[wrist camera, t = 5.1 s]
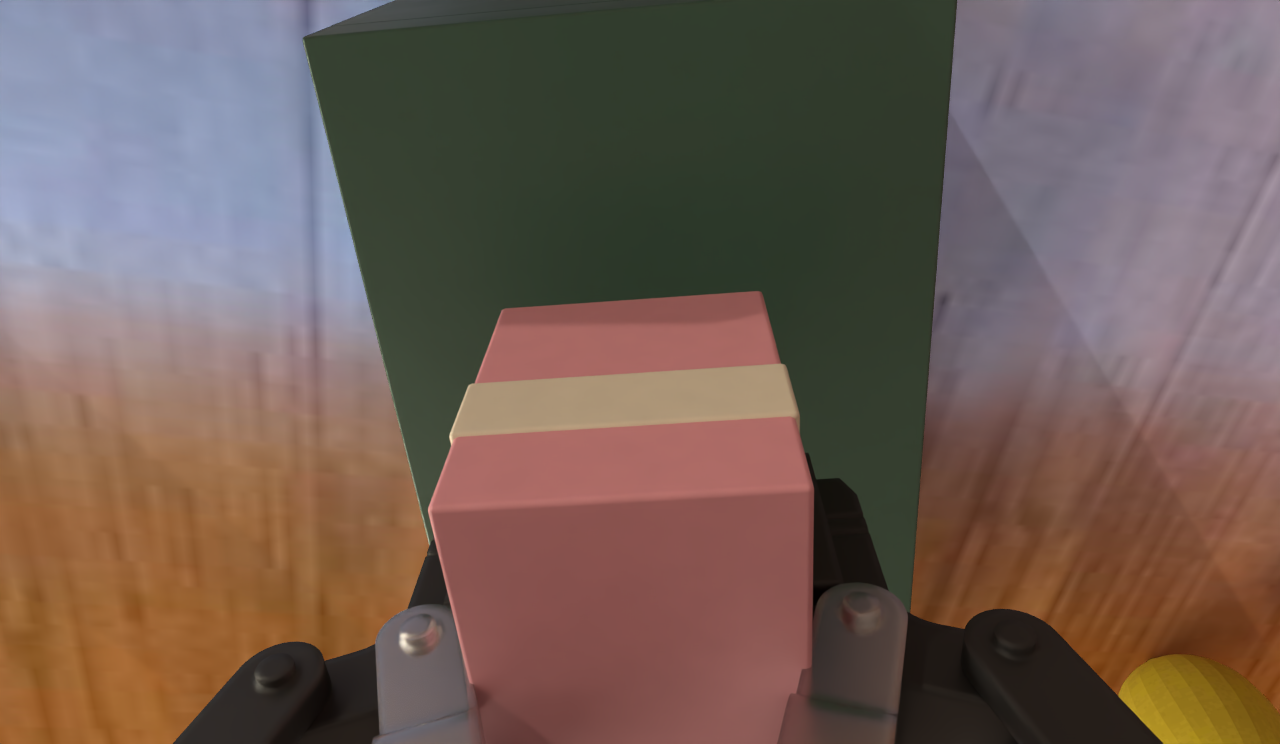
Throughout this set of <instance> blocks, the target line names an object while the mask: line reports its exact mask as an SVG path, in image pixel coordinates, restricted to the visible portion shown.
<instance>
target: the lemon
mask: <svg viewBox="0 0 1280 744" xmlns="http://www.w3.org/2000/svg"><path fill="white" fill-rule="evenodd" d="M1118 697H1119V698H1120V699H1121V700H1122V701H1123V702H1124V703H1125V704H1126V705H1127V706H1128V707H1129V708H1130V709H1131V710H1132V711H1133V712H1134V713H1135V714H1136V715H1137V716H1138V717H1139V718H1140V720H1141V721H1142V722H1143V723H1144V724H1145V725H1146V726H1147V727H1148V728H1149V729H1150V730H1151V731H1152V732H1153V733H1154V734H1155V735H1156V736H1157V737H1158V738H1159V739H1160V740H1161V741H1162V742H1163V744H1280V715H1279V713H1278V712H1277V710H1276V709H1275V708H1274V706H1273V705H1272V704H1271V702H1270V701H1269V700H1268V699H1267V698H1266V697H1265V696H1264V695H1263V694H1262V693H1261V692H1260V691H1259V690H1258V689H1257V688H1256V687H1254V686H1253V685H1252V684H1251V683H1250V682H1249V681H1248V680H1247V679H1246V678H1244V677H1243V676H1242V675H1240V674H1239V673H1238V672H1236V671H1234V670H1233V669H1231V668H1229V667H1227V666H1225V665H1223V664H1220V663H1218V662H1216V661H1214V660H1211V659H1208V658H1205V657H1200V656H1195V655H1188V654H1171V655H1166V656H1160V657H1158V658H1152V659H1150V660H1148V661H1147V662H1146V663H1144V664H1142V665H1140V666H1139V667H1138V668H1136V669H1135V670H1134V671H1133V672H1131V674H1130V675H1129V676H1128V678H1127V679H1126V680H1125V682H1124V683H1123V684H1122V687H1121V689H1120V692H1119V694H1118Z"/></svg>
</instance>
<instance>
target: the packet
mask: <svg viewBox="0 0 1280 744" xmlns="http://www.w3.org/2000/svg"><path fill="white" fill-rule="evenodd" d="M449 438H450V442H451V448H450V451H449V453H448V456H447V459H446V462H445V464H444V467H443V470H442V472H441V475H440V478H439V480H438V483H437V486H436V488H435V491H434V494H433V497H432V499H431V502H430V505H429V508H428V513H429V517H430V522H431V526H432V530H433V534H434V538H435V542H436V546H437V551H438V555H439V559H440V563H441V567H442V571H443V575H444V579H445V584H446V588H447V592H448V596H449V600H450V604H451V608H452V612H453V617H454V621H455V625H456V629H457V633H458V637H459V641H460V646H461V650H462V654H463V658H464V662H465V666H466V670H467V674H468V679H469V682H470V683H471V684H474V688H475V692H476V696H477V700H478V704H479V709H480V714H481V720H482V725H483V731H484V736H485V741H486V744H777V742H778V738H779V734H780V729H781V725H782V721H783V717H784V713H785V708H786V705H787V701H788V698H789V695H790V694H791V693H794V694H796V692H797V687H798V683H799V679H800V674H801V670H802V669H807V668H810V667H811V665H812V619H813V538H814V486H813V482H812V479H811V475H810V471H809V467H808V463H807V460H806V456H805V452H804V448H803V445H802V441H801V437H800V414H799V410H798V407H797V403H796V399H795V396H794V392H793V389H792V385H791V381H790V378H789V374H788V370H787V367H786V365H784V364H781V361H780V358H779V354H778V350H777V346H776V343H775V339H774V335H773V331H772V328H771V324H770V320H769V316H768V312H767V309H766V305H765V301H764V297H763V294H762V292H760V291H751V292H736V293H722V294H708V295H693V296H679V297H664V298H650V299H635V300H621V301H607V302H592V303H578V304H563V305H549V306H534V307H520V308H506V309H503V310H502V311H501V314H500V316H499V319H498V322H497V324H496V327H495V330H494V332H493V335H492V338H491V340H490V343H489V346H488V349H487V351H486V354H485V357H484V359H483V362H482V365H481V367H480V370H479V373H478V375H477V378H476V381H475V383H474V384H470V385H469V386H468V388H467V390H466V393H465V396H464V398H463V401H462V403H461V406H460V409H459V411H458V414H457V416H456V419H455V422H454V424H453V427H452V430H451V432H450V436H449Z"/></svg>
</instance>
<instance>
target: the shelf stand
mask: <svg viewBox="0 0 1280 744" xmlns="http://www.w3.org/2000/svg"><path fill="white" fill-rule="evenodd" d="M956 10H957V0H395V1H392V2H390V3H387V4H385V5H382V6H380V7H377V8H375V9H372V10H370V11H367V12H365V13H362V14H360V15H357V16H355V17H352V18H350V19H347V20H344V21H342V22H339V23H337V24H334V25H332V26H330V27H327V28H325V29H322V30H320V31H317V32H315V33H312V34H310V35H307V36H305V37H303V44H304V48H305V52H306V56H307V60H308V64H309V68H310V72H311V76H312V80H313V84H314V88H315V92H316V96H317V100H318V104H319V108H320V112H321V116H322V120H323V124H324V128H325V132H326V136H327V140H328V144H329V148H330V152H331V156H332V160H333V164H334V168H335V172H336V176H337V179H338V183H339V187H340V191H341V195H342V199H343V203H344V207H345V211H346V215H347V219H348V223H349V227H350V231H351V235H352V239H353V243H354V247H355V251H356V255H357V259H358V263H359V267H360V271H361V275H362V279H363V283H364V287H365V291H366V295H367V299H368V303H369V307H370V311H371V315H372V319H373V323H374V327H375V331H376V335H377V339H378V343H379V347H380V351H381V355H382V359H383V363H384V367H385V371H386V375H387V379H388V383H389V387H390V391H391V395H392V398H393V402H394V406H395V410H396V414H397V418H398V422H399V426H400V430H401V434H402V438H403V442H404V446H405V450H406V454H407V458H408V462H409V466H410V470H411V474H412V478H413V482H414V486H415V490H416V494H417V498H418V502H419V506H420V510H421V514H422V518H423V522H424V526H425V530H426V534H427V538H428V542H429V546H430V543H431V541H433V530H432V526H431V522H430V517H429V513H428V508H429V505H430V502H431V499H432V497H433V494H434V491H435V488H436V486H437V483H438V480H439V478H440V475H441V472H442V470H443V467H444V464H445V462H446V459H447V456H448V453H449V451H450V448H451V442H450V438H449V436H450V432H451V430H452V427H453V424H454V422H455V419H456V416H457V414H458V411H459V409H460V406H461V403H462V401H463V398H464V396H465V393H466V390H467V388H468V386H469V385H470V384H474V383H475V381H476V378H477V375H478V373H479V370H480V367H481V365H482V362H483V359H484V357H485V354H486V351H487V349H488V346H489V343H490V340H491V338H492V335H493V332H494V330H495V327H496V324H497V322H498V319H499V316H500V314H501V311H502V310H503V309H506V308H520V307H534V306H549V305H563V304H578V303H592V302H607V301H621V300H635V299H650V298H664V297H679V296H693V295H708V294H722V293H736V292H751V291H760V292H762V294H763V297H764V301H765V305H766V309H767V312H768V316H769V320H770V324H771V328H772V331H773V335H774V339H775V343H776V346H777V350H778V354H779V358H780V361H781V364H784V365H786V367H787V370H788V374H789V378H790V381H791V385H792V389H793V392H794V396H795V399H796V403H797V407H798V410H799V414H800V437H801V441H802V445H803V448H804V452H805V453H809V455H810V459H811V463H812V466H813V470H814V474H815V477H816V479H831V478H840V479H841V480H842V481H843V482H844V483H845V484H846V485H848V486H849V487H850V488H851V489H852V490H853V491H854V492H855V493H856V494H857V496H858V499H859V502H860V505H861V508H862V511H863V517H864V518H865V520H866V523H867V527H868V531H869V533H870V536H871V539H872V542H873V545H874V548H875V551H876V554H877V557H878V560H879V563H880V566H881V569H882V572H883V575H884V578H885V581H886V584H887V587H888V590H889V592H891V593H892V594H894V595H895V596H896V597H897V598H899V599H900V601H901V602H902V603H903V605H904V606H905V608H906V611H907V612H909V613H910V609H911V596H912V583H913V570H914V557H915V544H916V531H917V518H918V505H919V492H920V479H921V466H922V453H923V440H924V427H925V414H926V401H927V388H928V375H929V362H930V348H931V335H932V322H933V309H934V296H935V283H936V270H937V257H938V244H939V231H940V218H941V205H942V192H943V179H944V166H945V153H946V140H947V127H948V114H949V101H950V88H951V75H952V62H953V49H954V36H955V23H956Z"/></svg>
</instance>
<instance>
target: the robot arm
mask: <svg viewBox="0 0 1280 744" xmlns="http://www.w3.org/2000/svg"><path fill="white" fill-rule="evenodd" d="M805 456H806V460H807V463H808V467H809V471H810V475H811V479H812V482H813V486H814V538H813V619H812V665H811V667H810V668H807V669H802V670H801V674H800V679H799V683H798V687H797V692H796V694H794V693H791V694H790V695H789V698H788V701H787V705H786V708H785V713H784V717H783V721H782V725H781V729H780V734H779V738H778V742H777V744H1163V742H1162V741H1161V740H1160V739H1159V738H1158V737H1157V736H1156V735H1155V734H1154V733H1153V732H1152V731H1151V730H1150V729H1149V728H1148V727H1147V726H1146V725H1145V724H1144V723H1143V722H1142V721H1141V720H1140V718H1139V717H1138V716H1137V715H1136V714H1135V713H1134V712H1133V711H1132V710H1131V709H1130V708H1129V707H1128V706H1127V705H1126V704H1125V703H1124V702H1123V701H1122V700H1121V699H1120V698H1119V697H1118V696H1117V694H1116V693H1115V692H1114V691H1113V690H1112V689H1111V688H1110V687H1109V686H1108V685H1107V684H1106V683H1105V682H1104V681H1103V680H1102V679H1101V678H1100V677H1099V676H1098V675H1097V674H1096V673H1095V672H1094V670H1093V669H1092V668H1091V667H1090V666H1089V665H1088V664H1087V663H1086V662H1085V661H1084V660H1083V659H1082V658H1081V657H1080V656H1079V655H1078V654H1077V653H1076V652H1075V651H1074V650H1073V649H1072V648H1071V646H1070V645H1069V644H1068V643H1067V642H1066V641H1065V640H1064V639H1063V638H1062V637H1061V636H1060V635H1059V634H1058V633H1057V632H1056V631H1055V630H1054V629H1053V628H1052V627H1051V626H1050V625H1048V624H1047V623H1045V622H1044V621H1042V620H1040V619H1039V618H1037V617H1035V616H1032V615H1030V614H1027V613H1024V612H1020V611H1016V610H1010V609H993V610H988V611H984V612H982V613H979V614H977V615H976V616H974V617H973V618H972V619H971V620H969V622H968V623H967V625H966V627H965V629H961V628H955V627H950V626H945V625H940V624H936V623H932V622H928V621H925V620H923V619H920V618H918V617H916V616H914V615H912V614H910V613H909V612H907V611H906V608H905V606H904V605H903V603H902V602H901V601H900V599H899V598H897V597H896V596H895V595H894V594H892V593H891V592H889V590H888V587H887V584H886V581H885V578H884V575H883V572H882V569H881V566H880V563H879V560H878V557H877V554H876V551H875V548H874V545H873V542H872V539H871V536H870V533H869V531H868V527H867V523H866V520H865V518H864V517H863V511H862V508H861V505H860V502H859V499H858V496H857V494H856V493H855V492H854V491H853V490H852V489H851V488H850V487H849V486H848V485H846V484H845V483H844V482H843V481H842V480H841V479H840V478H831V479H816V477H815V474H814V470H813V466H812V463H811V459H810V455H809V453H805ZM173 744H486V741H485V736H484V731H483V725H482V720H481V714H480V709H479V704H478V700H477V696H476V692H475V688H474V684H471V683H470V682H469V679H468V674H467V670H466V666H465V662H464V658H463V654H462V650H461V646H460V641H459V637H458V633H457V629H456V625H455V621H454V617H453V612H452V608H451V604H450V600H449V596H448V592H447V588H446V584H445V579H444V575H443V571H442V567H441V563H440V559H439V555H438V551H437V546H436V542H435V538H434V534H433V541H431V543H430V546H429V549H428V552H427V556H426V557H425V560H424V563H423V566H422V569H421V572H420V575H419V577H418V580H417V583H416V586H415V589H414V592H413V595H412V598H411V600H410V603H409V606H408V609H407V610H404V611H402V612H400V613H399V614H397V615H395V616H394V617H393V618H391V619H390V620H389V621H388V622H387V623H386V624H385V625H384V626H383V627H382V629H381V630H380V632H379V634H378V635H377V639H376V644H374V645H372V646H370V647H368V648H366V649H363V650H360V651H357V652H354V653H350V654H347V655H343V656H340V657H337V658H333V659H330V660H326V661H324V659H323V656H322V654H321V652H320V650H319V649H317V648H316V647H315V646H313V645H311V644H308V643H305V642H287V643H282V644H278V645H275V646H272V647H270V648H267V649H265V650H263V651H261V652H259V653H258V654H256V655H254V656H253V657H252V658H250V659H249V660H248V661H246V662H245V663H244V664H243V665H242V666H241V667H240V668H239V670H238V671H237V672H236V673H235V674H234V675H233V676H232V677H231V679H230V680H229V681H228V682H227V683H226V684H225V685H224V686H223V688H222V689H221V690H220V691H219V692H218V693H217V694H216V695H215V697H214V698H213V699H212V700H211V701H210V702H209V703H208V704H207V706H206V707H205V708H204V709H203V710H202V711H201V712H200V714H199V715H198V716H197V717H196V718H195V719H194V720H193V721H192V723H191V724H190V725H189V726H188V727H187V728H186V729H185V730H184V732H183V733H182V734H181V735H180V736H179V737H178V738H177V739H176V741H175V742H174V743H173Z"/></svg>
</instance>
